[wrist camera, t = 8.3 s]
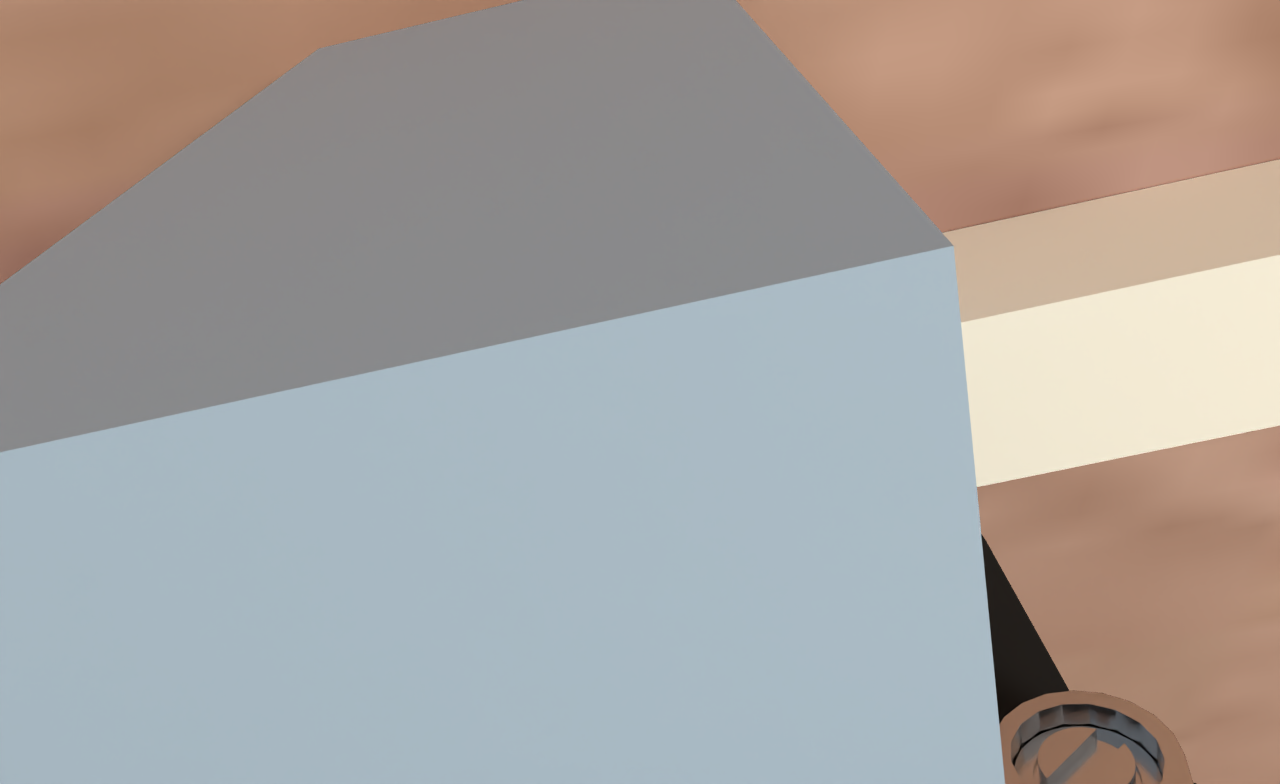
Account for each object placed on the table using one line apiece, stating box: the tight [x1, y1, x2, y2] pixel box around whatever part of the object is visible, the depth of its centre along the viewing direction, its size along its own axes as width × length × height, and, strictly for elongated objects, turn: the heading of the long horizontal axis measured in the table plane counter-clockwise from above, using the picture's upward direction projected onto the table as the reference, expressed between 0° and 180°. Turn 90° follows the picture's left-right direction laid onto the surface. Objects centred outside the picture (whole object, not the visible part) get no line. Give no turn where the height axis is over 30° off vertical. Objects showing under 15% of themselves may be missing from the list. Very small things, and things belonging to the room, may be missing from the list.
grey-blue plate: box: [0, 0, 1005, 784], centre depth 11 cm, size 12×4×10 cm, turn 12°
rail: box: [943, 159, 1280, 487], centre depth 16 cm, size 2×24×3 cm, turn 102°
